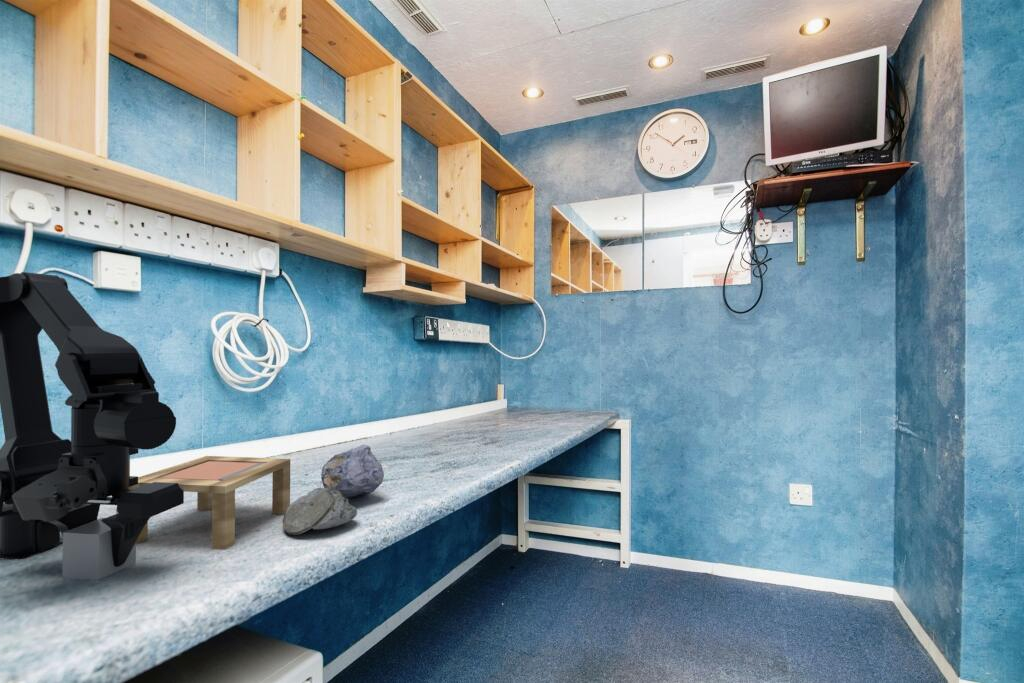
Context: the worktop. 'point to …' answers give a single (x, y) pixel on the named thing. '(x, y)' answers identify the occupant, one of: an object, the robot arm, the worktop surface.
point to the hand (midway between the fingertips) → (100, 564)
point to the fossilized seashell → (318, 511)
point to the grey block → (90, 552)
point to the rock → (353, 472)
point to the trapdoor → (213, 470)
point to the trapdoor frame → (226, 492)
